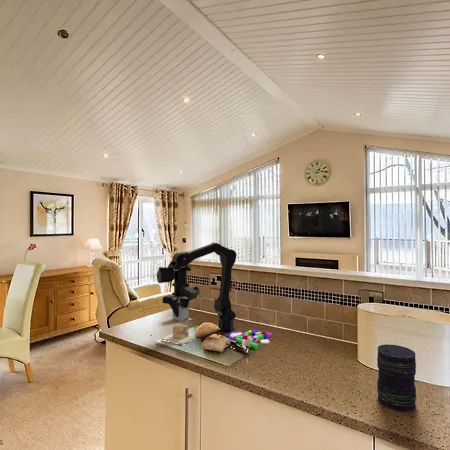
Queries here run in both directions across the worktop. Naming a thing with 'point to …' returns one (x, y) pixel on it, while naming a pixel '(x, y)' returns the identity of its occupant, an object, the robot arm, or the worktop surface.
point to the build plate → (179, 341)
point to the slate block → (181, 314)
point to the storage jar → (396, 378)
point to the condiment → (188, 314)
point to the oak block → (180, 331)
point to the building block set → (250, 338)
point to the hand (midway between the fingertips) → (180, 315)
